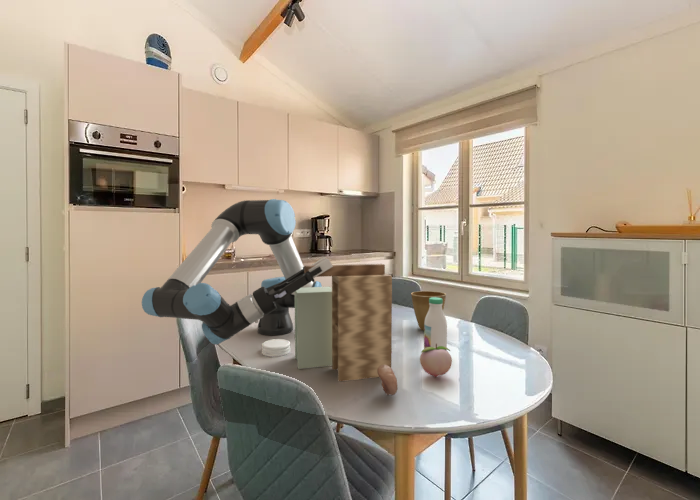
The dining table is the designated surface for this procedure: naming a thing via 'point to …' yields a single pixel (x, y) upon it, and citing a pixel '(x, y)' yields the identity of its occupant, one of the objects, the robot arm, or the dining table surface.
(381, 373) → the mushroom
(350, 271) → the wooden square beam
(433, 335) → the milk bottle
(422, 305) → the plant pot
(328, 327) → the sage green rectangular block
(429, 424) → the dining table surface
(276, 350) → the coaster
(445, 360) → the decorative fruit
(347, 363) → the brown wooden tall box
